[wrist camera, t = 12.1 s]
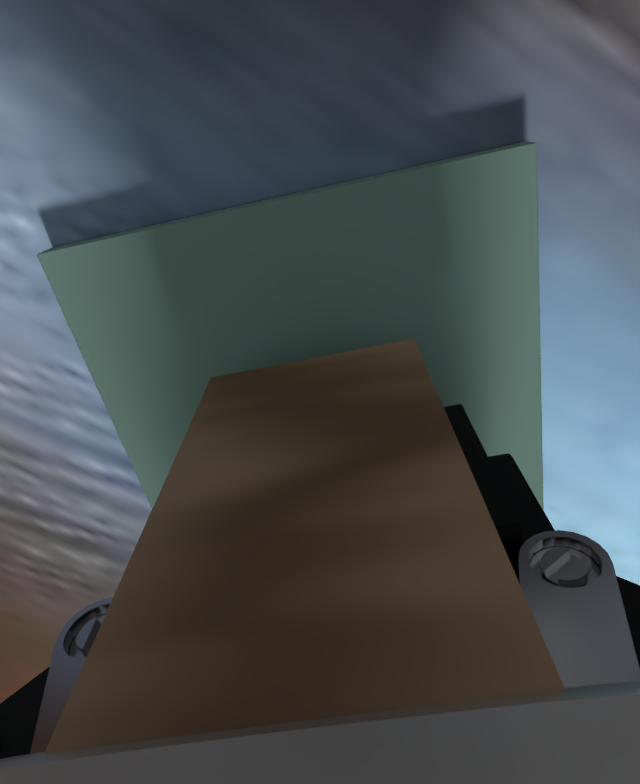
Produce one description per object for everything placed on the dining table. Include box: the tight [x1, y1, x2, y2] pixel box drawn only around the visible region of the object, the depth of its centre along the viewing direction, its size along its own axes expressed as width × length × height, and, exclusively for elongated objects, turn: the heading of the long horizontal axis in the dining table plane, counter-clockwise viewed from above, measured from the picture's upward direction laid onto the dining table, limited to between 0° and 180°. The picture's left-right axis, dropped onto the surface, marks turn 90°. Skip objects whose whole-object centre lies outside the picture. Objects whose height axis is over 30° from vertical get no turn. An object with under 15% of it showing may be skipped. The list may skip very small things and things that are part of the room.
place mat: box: [37, 142, 543, 509], centre depth 15 cm, size 12×12×1 cm
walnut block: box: [44, 339, 565, 754], centre depth 10 cm, size 5×5×9 cm
